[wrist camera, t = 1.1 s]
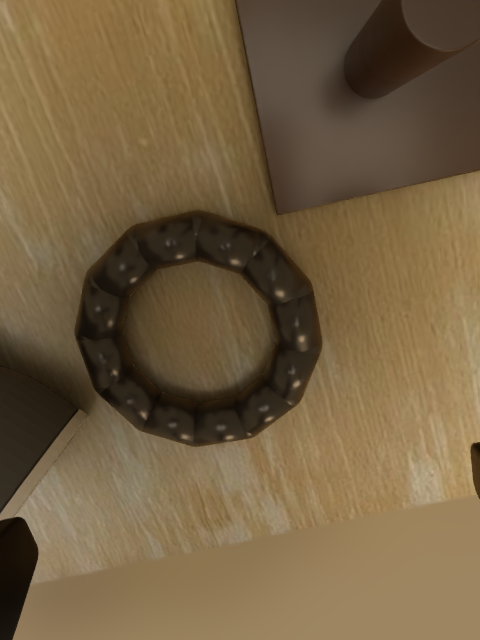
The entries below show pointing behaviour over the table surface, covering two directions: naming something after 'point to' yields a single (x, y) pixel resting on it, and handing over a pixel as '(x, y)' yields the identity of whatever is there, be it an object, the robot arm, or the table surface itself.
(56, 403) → the flashlight
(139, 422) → the studded brown bangle
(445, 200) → the table surface
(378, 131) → the rack
